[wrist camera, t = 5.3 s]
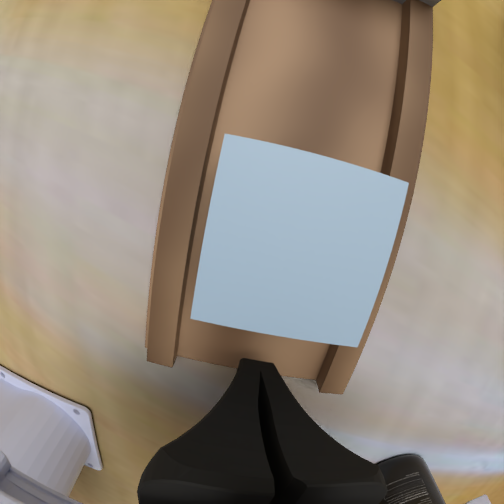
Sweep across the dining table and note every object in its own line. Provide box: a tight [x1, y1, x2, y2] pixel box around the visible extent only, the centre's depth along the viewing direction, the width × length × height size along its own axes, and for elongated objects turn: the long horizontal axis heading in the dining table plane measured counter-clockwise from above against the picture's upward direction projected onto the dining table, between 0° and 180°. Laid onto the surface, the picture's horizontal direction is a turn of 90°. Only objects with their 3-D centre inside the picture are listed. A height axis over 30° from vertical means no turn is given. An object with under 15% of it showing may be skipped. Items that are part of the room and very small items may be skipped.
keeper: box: [190, 134, 409, 347], centre depth 10 cm, size 5×5×4 cm
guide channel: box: [145, 0, 441, 394], centre depth 9 cm, size 10×24×5 cm, turn 168°
